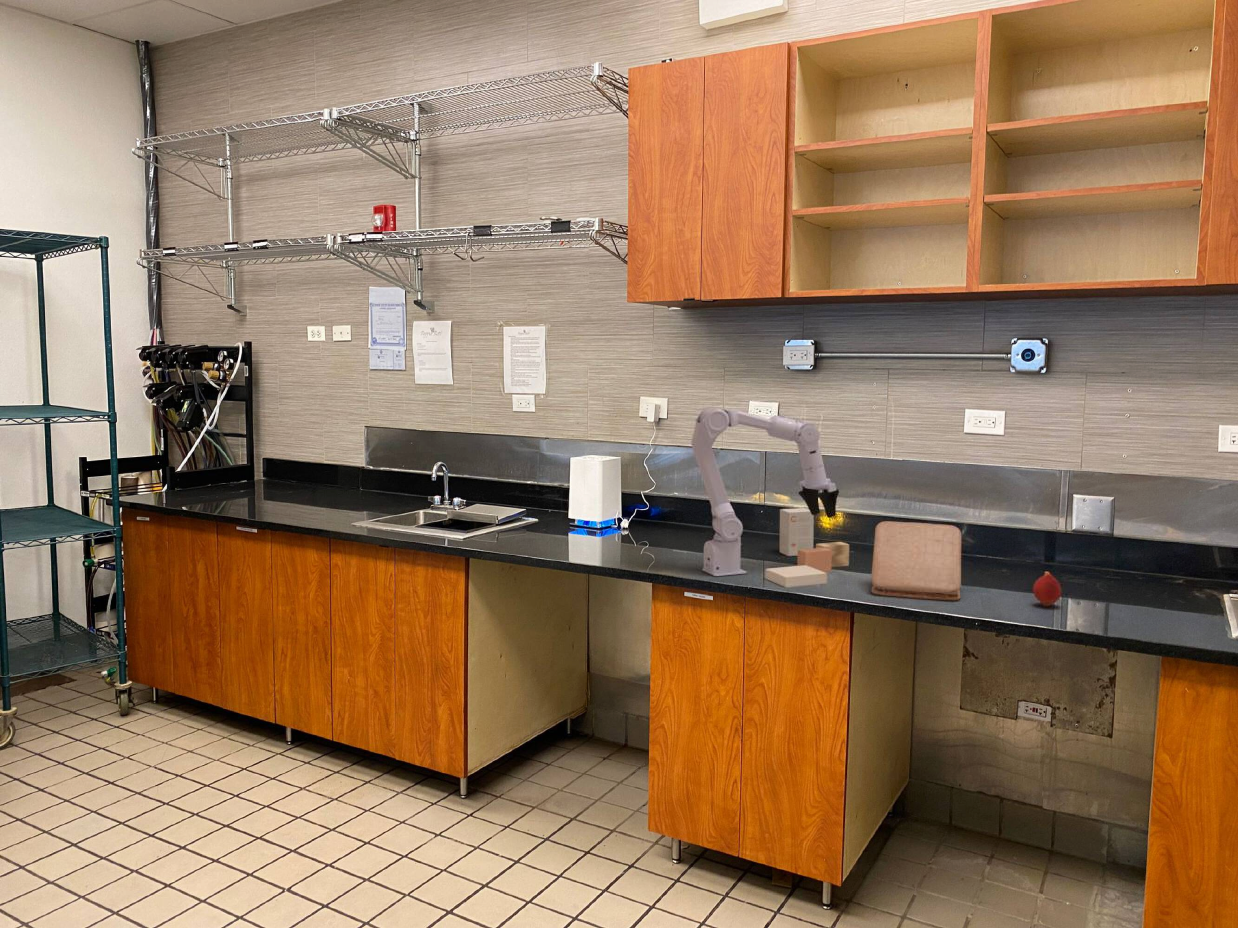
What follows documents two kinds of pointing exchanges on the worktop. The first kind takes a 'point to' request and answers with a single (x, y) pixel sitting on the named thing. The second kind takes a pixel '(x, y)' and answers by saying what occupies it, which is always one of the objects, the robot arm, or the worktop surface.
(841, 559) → the light oak brick
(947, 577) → the case
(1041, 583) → the onion
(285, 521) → the worktop surface
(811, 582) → the base block
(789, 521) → the small box
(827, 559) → the terracotta brick
